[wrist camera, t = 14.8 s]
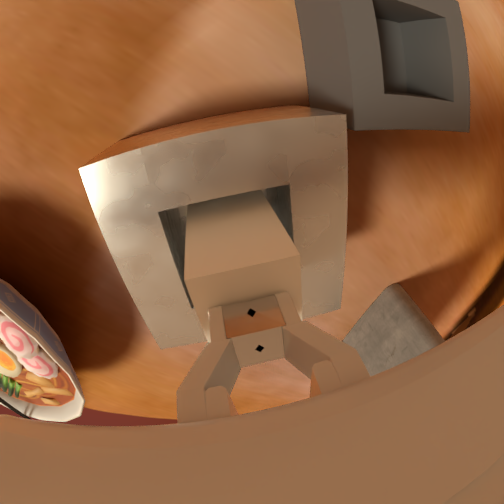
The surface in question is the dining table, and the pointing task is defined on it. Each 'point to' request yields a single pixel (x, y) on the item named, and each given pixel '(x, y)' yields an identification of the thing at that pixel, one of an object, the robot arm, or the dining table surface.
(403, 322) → the hip flask
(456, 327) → the dining table surface
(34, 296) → the dining table surface
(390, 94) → the grey square socket block
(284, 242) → the plug
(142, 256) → the port box
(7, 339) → the ramen bowl
